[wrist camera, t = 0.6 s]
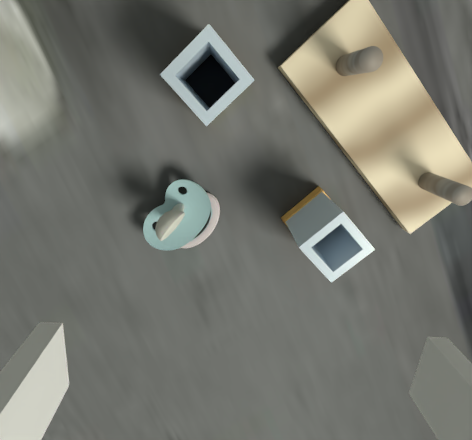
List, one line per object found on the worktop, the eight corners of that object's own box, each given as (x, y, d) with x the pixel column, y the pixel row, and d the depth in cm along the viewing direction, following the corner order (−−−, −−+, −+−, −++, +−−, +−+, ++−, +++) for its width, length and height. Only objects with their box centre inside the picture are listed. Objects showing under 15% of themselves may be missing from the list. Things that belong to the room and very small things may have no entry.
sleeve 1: (170, 79, 29) (156, 74, 22) (211, 37, 28) (208, 19, 21) (209, 122, 30) (206, 129, 23) (249, 84, 29) (257, 80, 23)
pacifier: (233, 202, 33) (181, 166, 31) (238, 227, 27) (175, 184, 26) (190, 257, 35) (139, 225, 33) (186, 291, 29) (124, 255, 27)
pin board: (277, 67, 29) (293, 60, 23) (354, -6, 27) (393, -35, 21) (402, 228, 34) (441, 256, 28) (471, 176, 33) (529, 194, 27)
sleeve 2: (280, 217, 33) (296, 247, 27) (318, 186, 33) (343, 208, 26) (309, 249, 35) (330, 284, 28) (346, 219, 34) (377, 249, 27)
